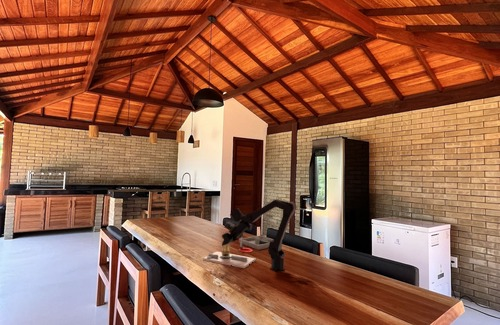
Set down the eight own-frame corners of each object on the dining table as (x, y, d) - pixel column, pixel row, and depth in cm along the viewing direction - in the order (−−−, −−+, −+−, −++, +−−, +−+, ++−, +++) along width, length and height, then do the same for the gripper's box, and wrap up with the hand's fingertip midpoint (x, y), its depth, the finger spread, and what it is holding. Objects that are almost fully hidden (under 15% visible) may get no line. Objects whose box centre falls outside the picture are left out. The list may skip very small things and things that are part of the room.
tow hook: (254, 251, 189) (242, 248, 192) (255, 232, 189) (243, 230, 193) (249, 254, 181) (237, 251, 185) (250, 235, 181) (238, 232, 185)
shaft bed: (255, 260, 167) (255, 255, 167) (244, 268, 152) (244, 262, 152) (216, 253, 179) (217, 248, 179) (203, 259, 164) (203, 254, 164)
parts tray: (279, 245, 204) (279, 241, 205) (258, 249, 190) (258, 245, 190) (260, 239, 221) (260, 235, 221) (239, 242, 207) (239, 239, 207)
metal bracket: (265, 238, 198) (249, 234, 206) (264, 246, 196) (247, 242, 205) (275, 240, 208) (259, 237, 217) (273, 248, 207) (257, 244, 216)
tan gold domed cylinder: (230, 256, 165) (231, 234, 165) (221, 256, 164) (222, 235, 164) (229, 253, 170) (230, 233, 170) (221, 254, 169) (221, 233, 169)
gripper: (239, 215, 175) (224, 231, 179) (225, 220, 158) (208, 236, 162) (250, 229, 171) (234, 244, 175) (236, 235, 154) (219, 251, 158)
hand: (224, 244), depth 168 cm, fingers closed on tan gold domed cylinder, 5 cm apart
